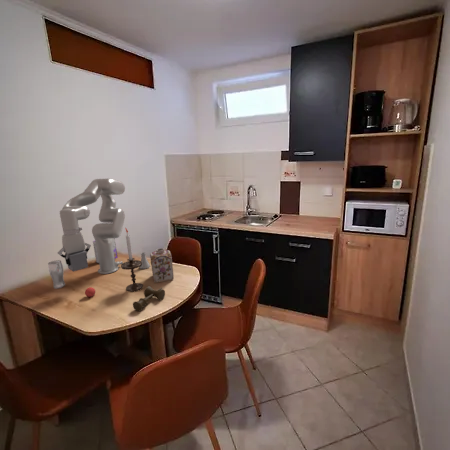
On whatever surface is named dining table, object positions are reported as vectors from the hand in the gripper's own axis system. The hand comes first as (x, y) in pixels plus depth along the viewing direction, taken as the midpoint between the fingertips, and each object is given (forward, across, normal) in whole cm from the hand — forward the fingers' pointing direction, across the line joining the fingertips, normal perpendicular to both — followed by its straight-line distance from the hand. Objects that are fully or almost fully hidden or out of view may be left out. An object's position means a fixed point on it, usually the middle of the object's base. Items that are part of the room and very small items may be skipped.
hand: (77, 262), depth 150 cm
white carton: (+17, -30, -36) cm, 50 cm away
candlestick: (+17, -20, +22) cm, 34 cm away
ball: (+14, 0, +12) cm, 18 cm away
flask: (+17, -40, -1) cm, 43 cm away
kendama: (+17, -18, +42) cm, 49 cm away
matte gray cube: (+3, 0, 0) cm, 3 cm away
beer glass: (+17, +7, -16) cm, 24 cm away
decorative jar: (+17, -38, +23) cm, 47 cm away
